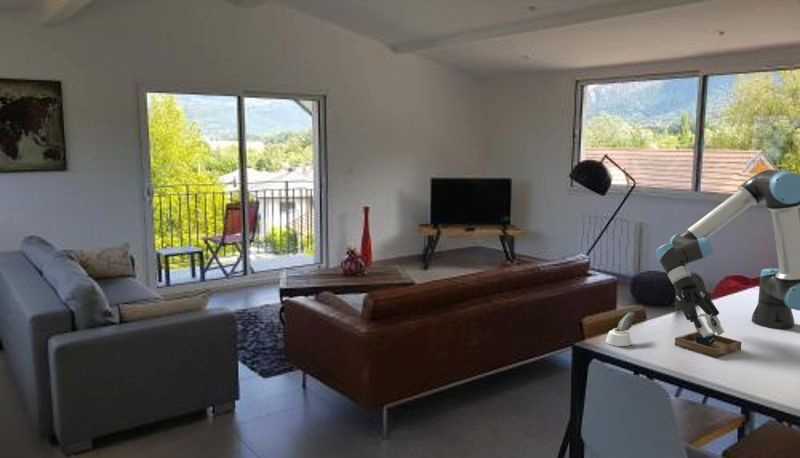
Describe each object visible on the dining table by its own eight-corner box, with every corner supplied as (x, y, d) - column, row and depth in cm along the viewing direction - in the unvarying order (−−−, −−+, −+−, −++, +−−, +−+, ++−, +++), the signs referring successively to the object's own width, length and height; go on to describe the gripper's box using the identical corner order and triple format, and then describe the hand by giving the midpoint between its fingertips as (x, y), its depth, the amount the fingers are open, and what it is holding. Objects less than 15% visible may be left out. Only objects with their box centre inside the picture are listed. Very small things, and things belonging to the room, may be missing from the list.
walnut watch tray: (699, 337, 240) (699, 330, 240) (740, 349, 227) (741, 341, 227) (674, 345, 231) (675, 337, 231) (716, 358, 218) (716, 350, 218)
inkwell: (601, 343, 234) (602, 317, 233) (620, 331, 247) (621, 307, 246) (625, 348, 228) (627, 322, 227) (643, 336, 241) (645, 311, 240)
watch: (713, 348, 226) (714, 319, 223) (691, 342, 232) (691, 314, 229) (720, 343, 229) (720, 314, 227) (698, 337, 235) (698, 310, 233)
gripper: (696, 283, 245) (727, 336, 232) (656, 287, 238) (687, 342, 225) (708, 273, 239) (740, 326, 226) (668, 277, 232) (699, 332, 220)
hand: (713, 334), depth 226 cm, fingers open, 6 cm apart
